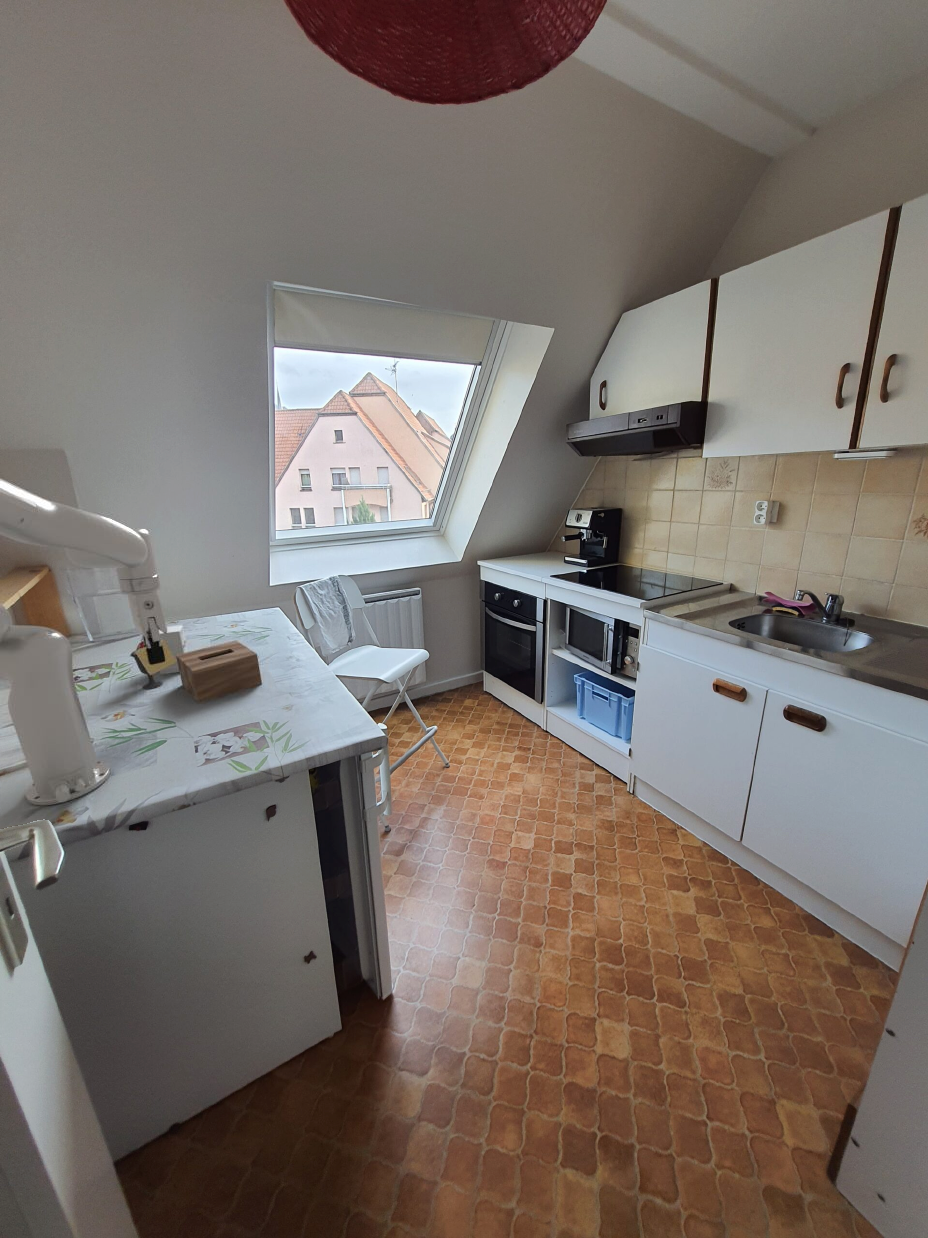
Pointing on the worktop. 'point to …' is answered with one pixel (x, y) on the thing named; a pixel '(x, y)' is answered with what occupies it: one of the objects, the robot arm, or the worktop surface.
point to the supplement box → (174, 645)
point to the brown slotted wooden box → (218, 670)
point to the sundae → (151, 682)
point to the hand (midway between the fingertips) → (156, 661)
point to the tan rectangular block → (157, 667)
